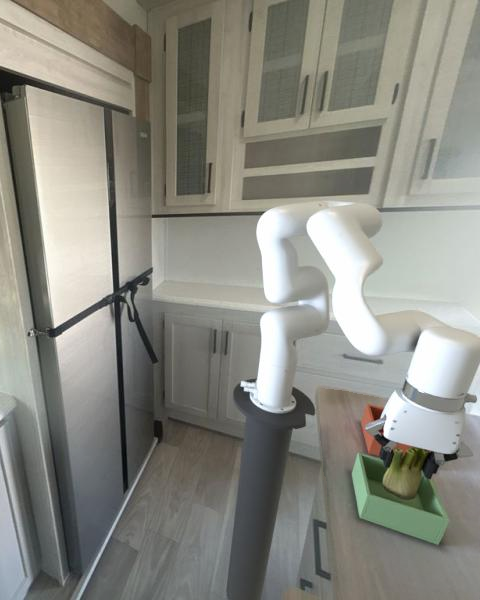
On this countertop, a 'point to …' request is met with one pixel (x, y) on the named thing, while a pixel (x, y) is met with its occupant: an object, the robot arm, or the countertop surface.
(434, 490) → the sage bin
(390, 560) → the countertop surface
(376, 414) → the terracotta bin
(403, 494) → the fennel bulb
